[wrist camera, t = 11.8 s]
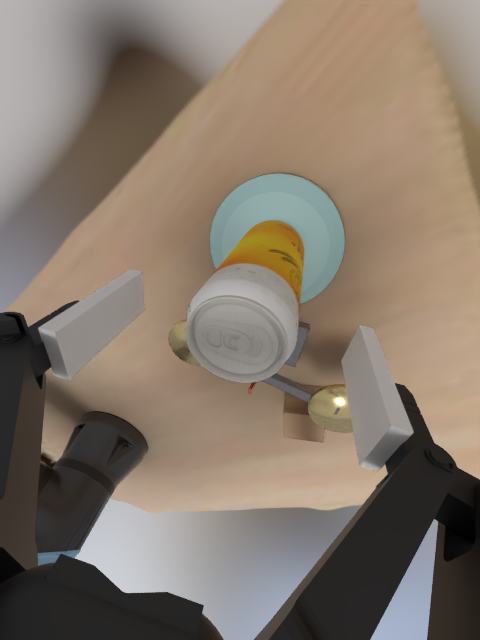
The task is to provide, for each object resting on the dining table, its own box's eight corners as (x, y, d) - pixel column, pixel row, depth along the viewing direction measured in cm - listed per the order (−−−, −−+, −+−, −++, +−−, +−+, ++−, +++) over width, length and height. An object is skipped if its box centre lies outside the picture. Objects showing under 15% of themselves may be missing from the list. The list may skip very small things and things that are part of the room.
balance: (186, 335, 36) (154, 382, 28) (188, 293, 32) (151, 335, 25) (347, 379, 33) (357, 443, 26) (370, 340, 30) (389, 401, 22)
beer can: (296, 285, 27) (282, 399, 14) (239, 274, 27) (178, 372, 15) (312, 224, 23) (311, 306, 11) (246, 213, 24) (175, 277, 12)
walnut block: (287, 407, 39) (284, 437, 35) (286, 382, 36) (283, 412, 32) (322, 411, 38) (323, 442, 33) (324, 386, 35) (326, 417, 31)
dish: (208, 287, 31) (204, 292, 30) (220, 160, 23) (216, 160, 22) (317, 315, 29) (318, 321, 28) (367, 189, 22) (370, 191, 21)
